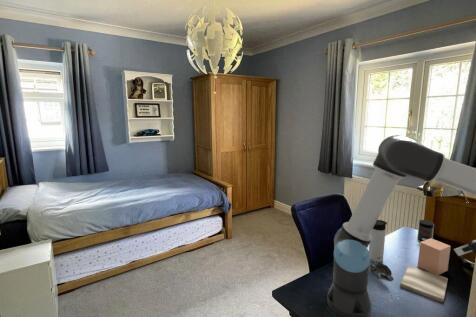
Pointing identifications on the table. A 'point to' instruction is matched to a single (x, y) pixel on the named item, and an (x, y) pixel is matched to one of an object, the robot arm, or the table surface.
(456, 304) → the table surface
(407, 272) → the birch pad
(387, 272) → the eagle figurine
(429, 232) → the supplement container
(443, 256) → the peach squarish block
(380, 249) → the travel mug
